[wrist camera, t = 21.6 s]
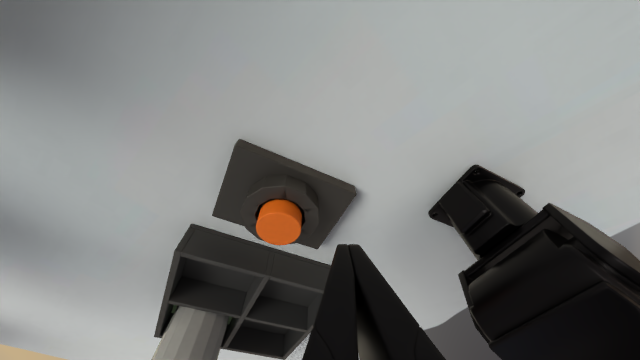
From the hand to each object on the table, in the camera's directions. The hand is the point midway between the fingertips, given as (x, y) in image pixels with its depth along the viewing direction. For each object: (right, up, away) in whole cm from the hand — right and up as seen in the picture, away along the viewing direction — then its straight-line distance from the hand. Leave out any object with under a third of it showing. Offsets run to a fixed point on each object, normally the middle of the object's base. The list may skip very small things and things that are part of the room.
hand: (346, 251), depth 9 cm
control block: (-4, +1, +13) cm, 14 cm away
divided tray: (-10, -11, +21) cm, 26 cm away
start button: (-4, 0, +11) cm, 12 cm away
